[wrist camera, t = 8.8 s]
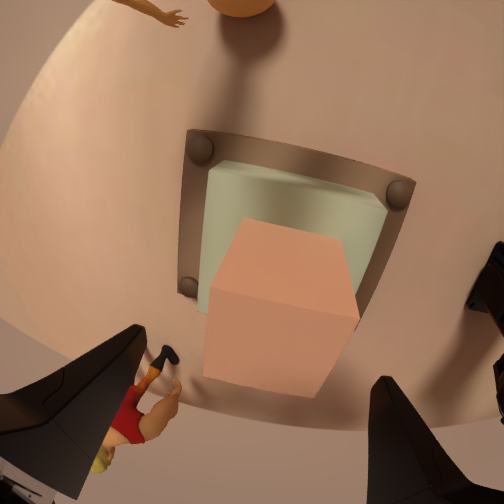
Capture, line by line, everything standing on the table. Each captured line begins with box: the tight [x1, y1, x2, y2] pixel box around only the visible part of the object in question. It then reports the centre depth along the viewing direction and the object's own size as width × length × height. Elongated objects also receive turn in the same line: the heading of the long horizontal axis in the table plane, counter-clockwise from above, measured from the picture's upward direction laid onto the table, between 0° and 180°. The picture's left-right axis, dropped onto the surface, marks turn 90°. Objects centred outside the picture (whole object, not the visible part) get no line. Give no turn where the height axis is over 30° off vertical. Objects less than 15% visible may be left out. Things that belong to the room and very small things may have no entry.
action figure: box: [91, 345, 182, 473], centre depth 20 cm, size 10×4×15 cm, turn 82°
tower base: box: [177, 129, 416, 331], centre depth 17 cm, size 14×12×4 cm
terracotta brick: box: [203, 218, 360, 398], centre depth 13 cm, size 5×5×6 cm
